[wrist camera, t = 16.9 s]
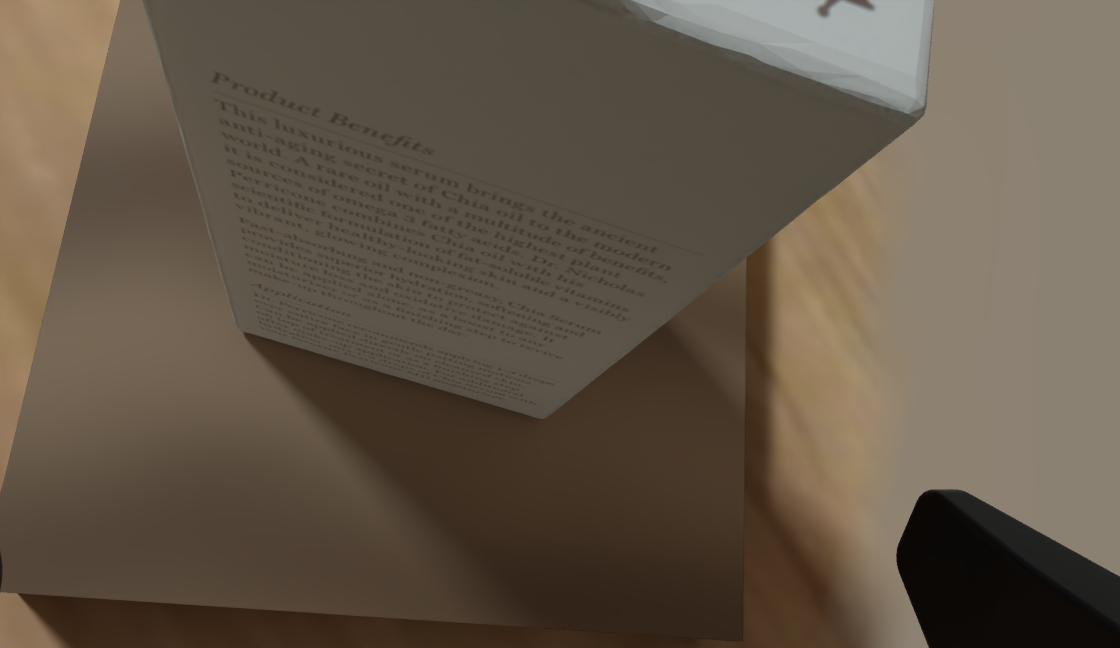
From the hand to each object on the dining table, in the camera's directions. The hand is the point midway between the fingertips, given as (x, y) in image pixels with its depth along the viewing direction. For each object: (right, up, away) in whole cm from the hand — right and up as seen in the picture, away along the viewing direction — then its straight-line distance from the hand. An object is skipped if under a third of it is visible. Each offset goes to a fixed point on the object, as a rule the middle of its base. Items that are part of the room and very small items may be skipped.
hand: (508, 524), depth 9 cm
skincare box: (-2, +3, +9) cm, 10 cm away
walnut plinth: (-2, +3, +11) cm, 11 cm away
